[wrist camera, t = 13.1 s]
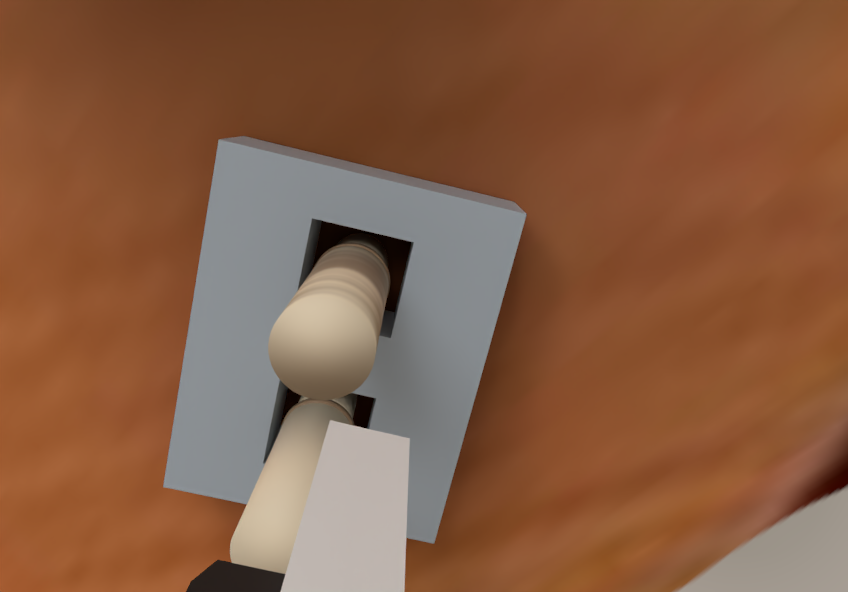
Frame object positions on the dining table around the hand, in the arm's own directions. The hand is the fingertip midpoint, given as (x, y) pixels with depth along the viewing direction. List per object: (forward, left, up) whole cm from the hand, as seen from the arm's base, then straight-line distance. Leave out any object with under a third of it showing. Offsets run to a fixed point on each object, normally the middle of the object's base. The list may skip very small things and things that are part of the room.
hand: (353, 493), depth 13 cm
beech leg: (+2, -2, -29) cm, 29 cm away
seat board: (+7, -2, -29) cm, 30 cm away
